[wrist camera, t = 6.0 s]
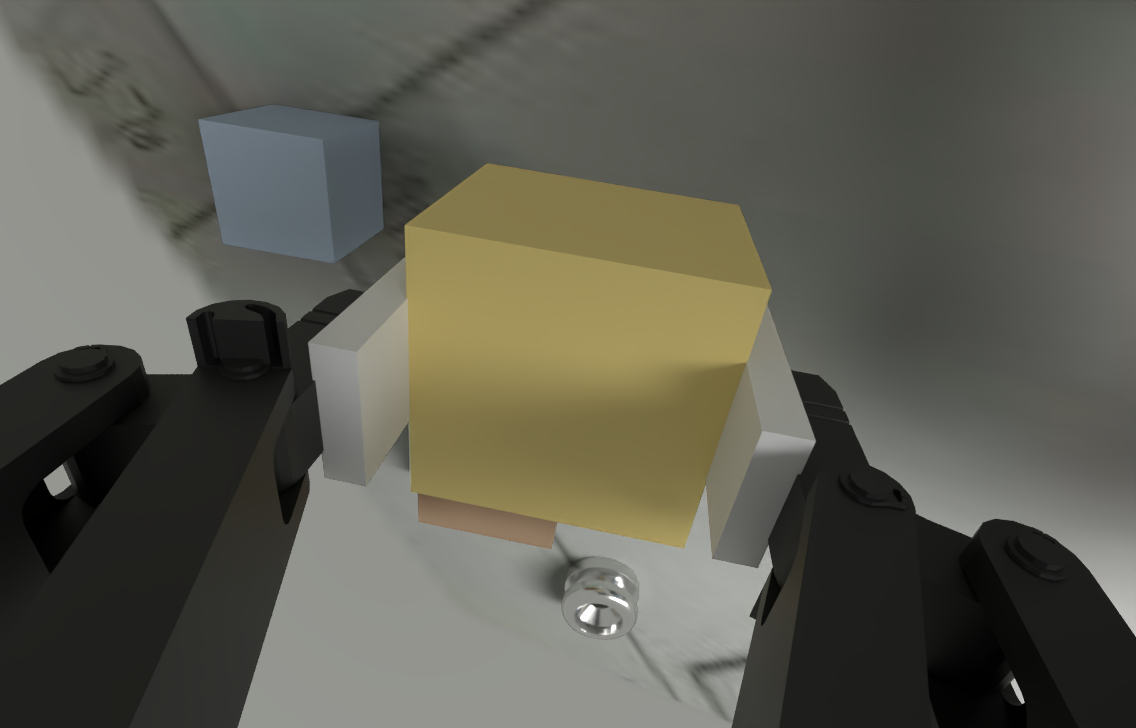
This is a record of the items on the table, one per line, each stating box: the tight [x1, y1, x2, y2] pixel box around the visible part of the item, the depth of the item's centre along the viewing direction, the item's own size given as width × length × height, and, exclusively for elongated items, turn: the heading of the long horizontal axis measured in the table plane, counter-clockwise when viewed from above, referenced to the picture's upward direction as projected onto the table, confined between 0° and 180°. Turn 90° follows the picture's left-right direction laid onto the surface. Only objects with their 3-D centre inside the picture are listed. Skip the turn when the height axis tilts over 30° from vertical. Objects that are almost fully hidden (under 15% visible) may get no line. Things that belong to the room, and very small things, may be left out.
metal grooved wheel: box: [561, 557, 639, 640], centre depth 38 cm, size 5×3×5 cm
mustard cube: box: [405, 163, 772, 548], centre depth 13 cm, size 6×6×5 cm
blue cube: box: [198, 104, 384, 264], centre depth 25 cm, size 5×5×5 cm
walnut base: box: [418, 493, 557, 549], centre depth 30 cm, size 7×7×5 cm
